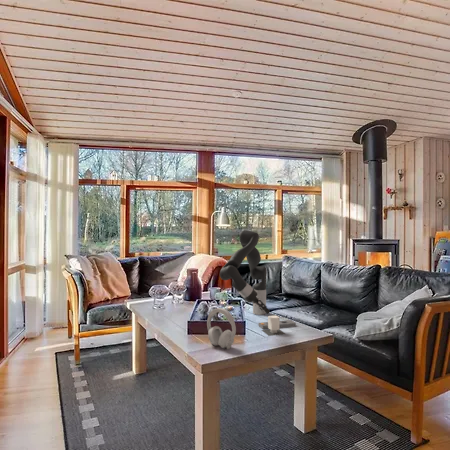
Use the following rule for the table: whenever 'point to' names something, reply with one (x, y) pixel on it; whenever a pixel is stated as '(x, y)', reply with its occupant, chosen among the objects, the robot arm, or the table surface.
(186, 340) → the table surface
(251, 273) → the robot arm
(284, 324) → the power strip
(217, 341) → the headphones
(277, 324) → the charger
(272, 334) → the mat
